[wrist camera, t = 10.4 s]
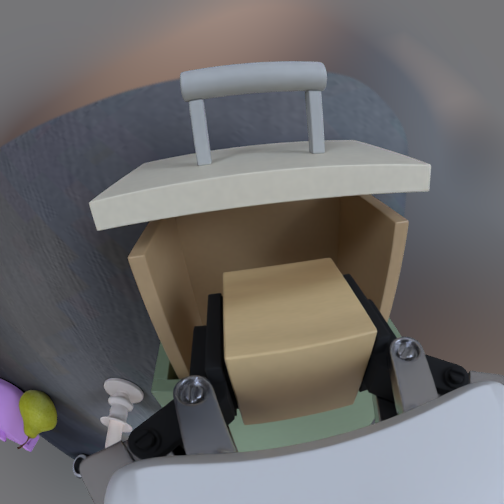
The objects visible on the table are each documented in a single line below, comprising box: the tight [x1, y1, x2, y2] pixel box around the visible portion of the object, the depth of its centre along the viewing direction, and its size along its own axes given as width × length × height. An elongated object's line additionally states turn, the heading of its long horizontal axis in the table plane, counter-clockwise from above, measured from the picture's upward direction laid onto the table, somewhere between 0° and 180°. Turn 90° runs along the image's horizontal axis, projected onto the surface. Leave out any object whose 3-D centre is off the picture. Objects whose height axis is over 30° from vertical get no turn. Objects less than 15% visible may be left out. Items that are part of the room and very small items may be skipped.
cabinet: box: [151, 319, 401, 452], centre depth 21 cm, size 15×15×10 cm
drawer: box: [89, 61, 431, 379], centre depth 15 cm, size 18×14×8 cm
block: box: [223, 258, 377, 425], centre depth 10 cm, size 4×4×4 cm
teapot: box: [0, 379, 39, 452], centre depth 25 cm, size 13×20×11 cm, turn 4°
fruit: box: [18, 390, 57, 449], centre depth 24 cm, size 7×7×12 cm
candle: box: [100, 378, 144, 448], centre depth 23 cm, size 5×5×10 cm
